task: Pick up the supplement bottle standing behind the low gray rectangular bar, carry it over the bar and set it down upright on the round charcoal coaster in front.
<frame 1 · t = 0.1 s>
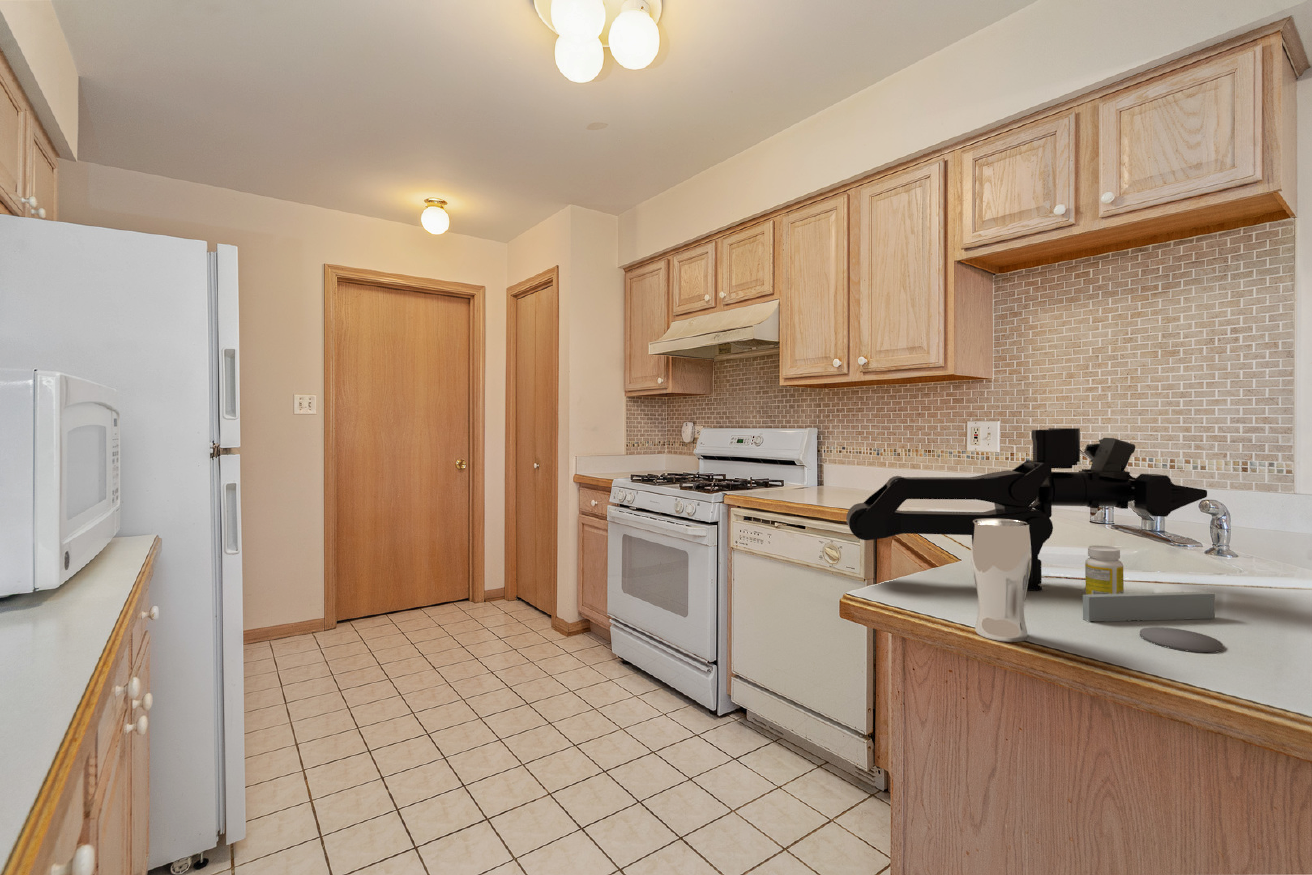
hand: (1187, 490, 98), 17 cm above the counter, tool horizontal, fingers open, 9 cm apart
gray rectangular bar: (1148, 618, 86), on the counter
supplement bottle: (1104, 603, 94), on the counter
coaster: (1179, 640, 78), on the counter
beer glass: (1001, 635, 81), on the counter
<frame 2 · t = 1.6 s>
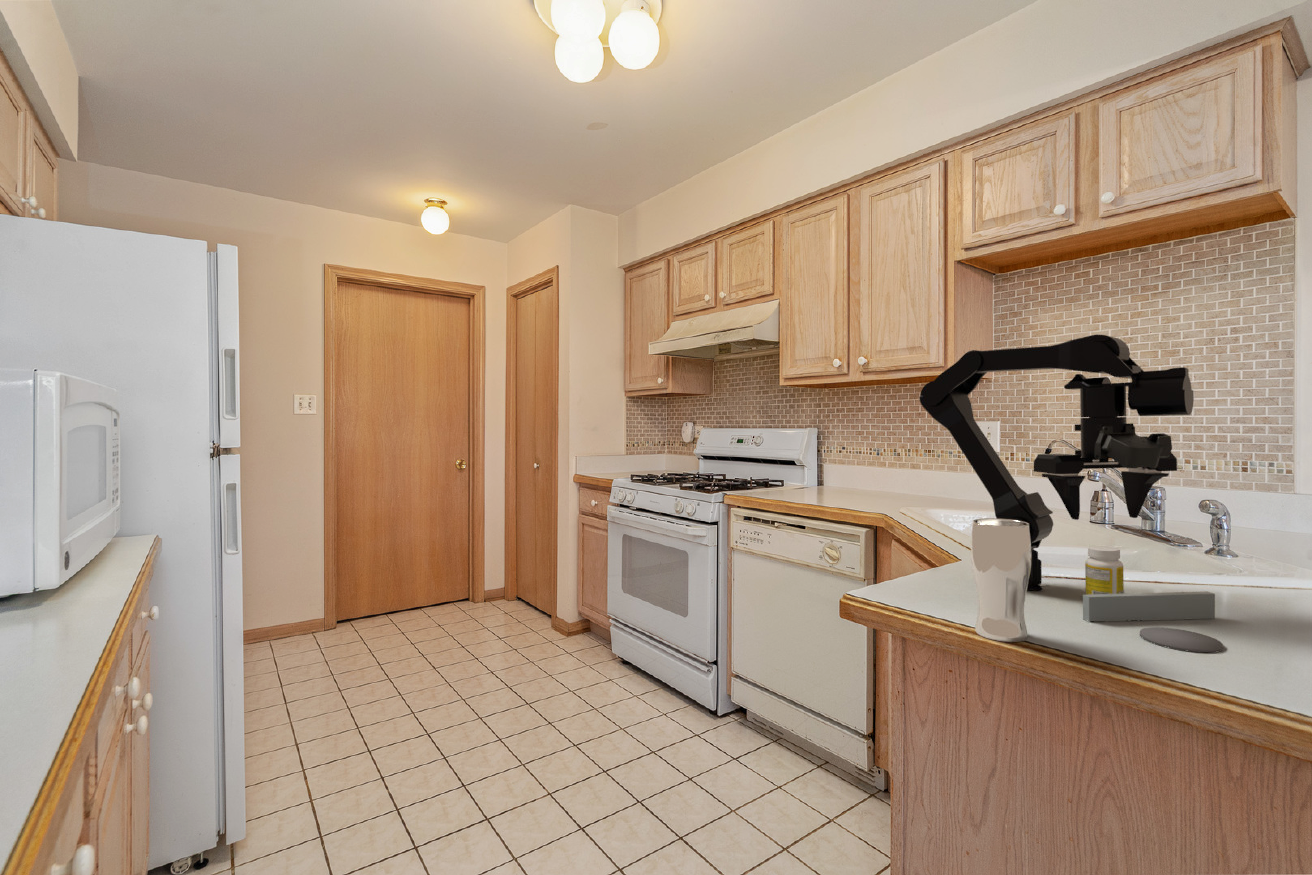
hand: (1104, 518, 94), 13 cm above the counter, tool pointing down, fingers open, 9 cm apart
nothing on the counter moved.
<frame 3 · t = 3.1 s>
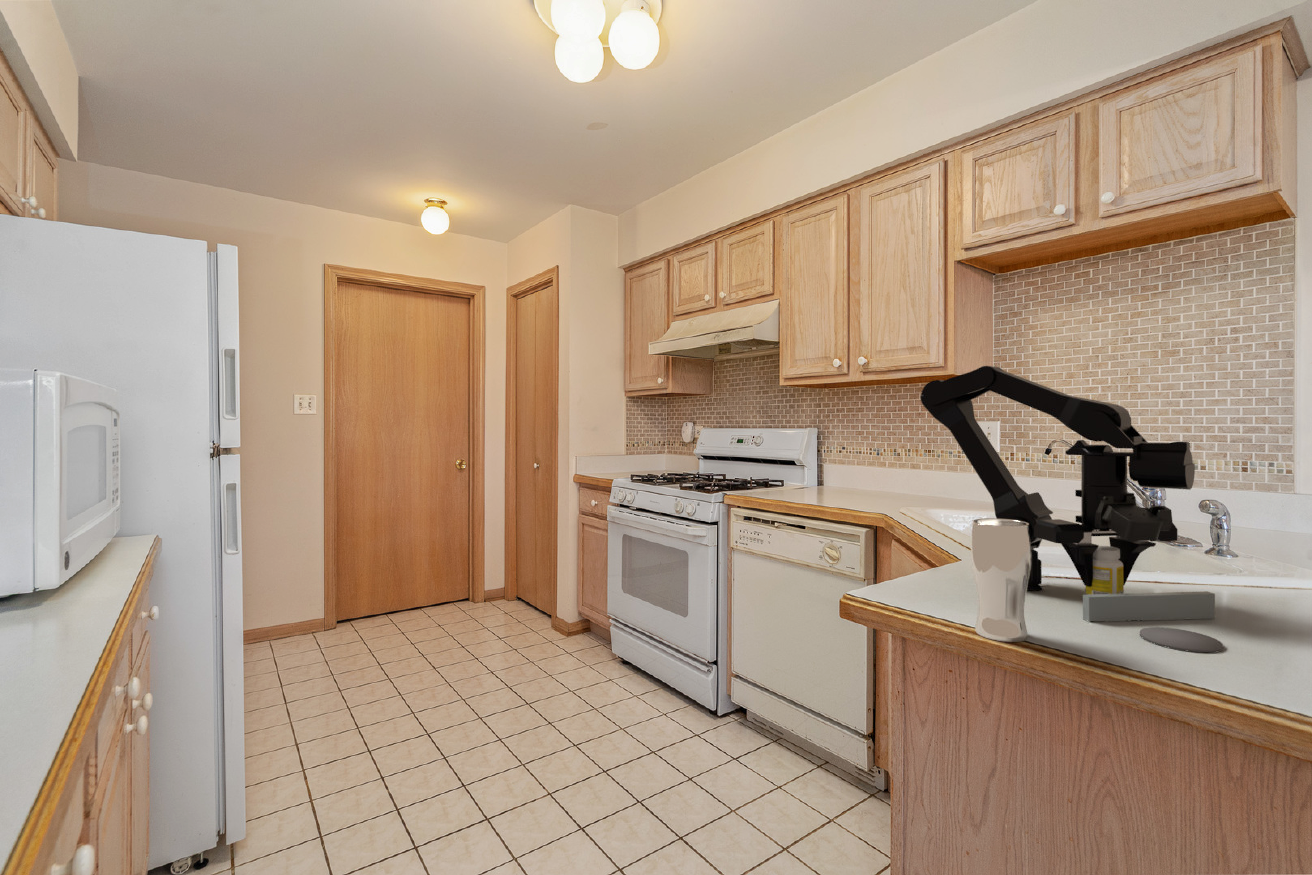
hand: (1104, 585, 94), 3 cm above the counter, tool pointing down, fingers closed on supplement bottle, 5 cm apart
supplement bottle: (1104, 603, 94), on the counter, touching gripper
everything else where it was.
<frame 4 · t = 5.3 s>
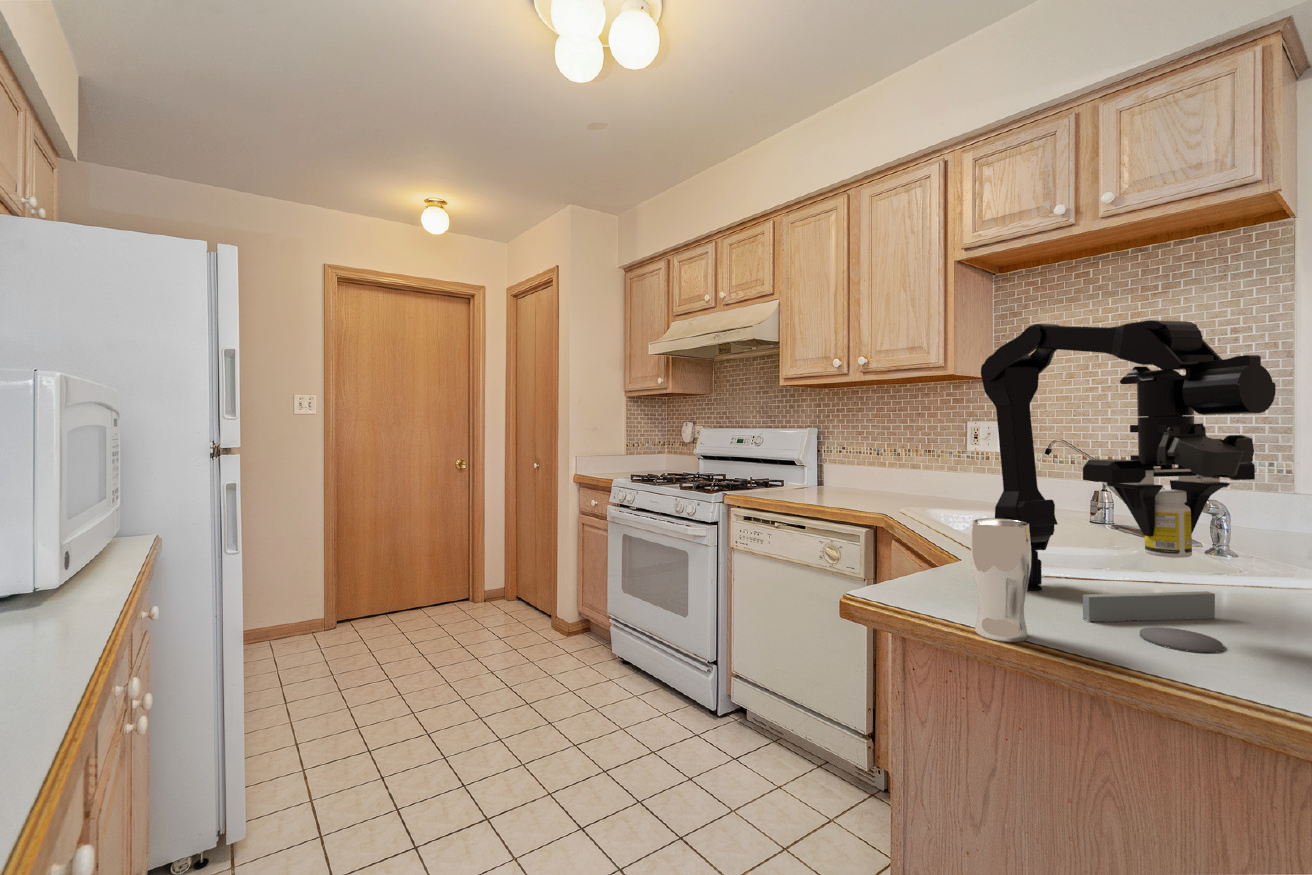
hand: (1167, 535, 80), 13 cm above the counter, tool pointing down, fingers closed on supplement bottle, 5 cm apart
supplement bottle: (1167, 556, 80), point 10 cm above the counter, touching gripper
everything else where it was.
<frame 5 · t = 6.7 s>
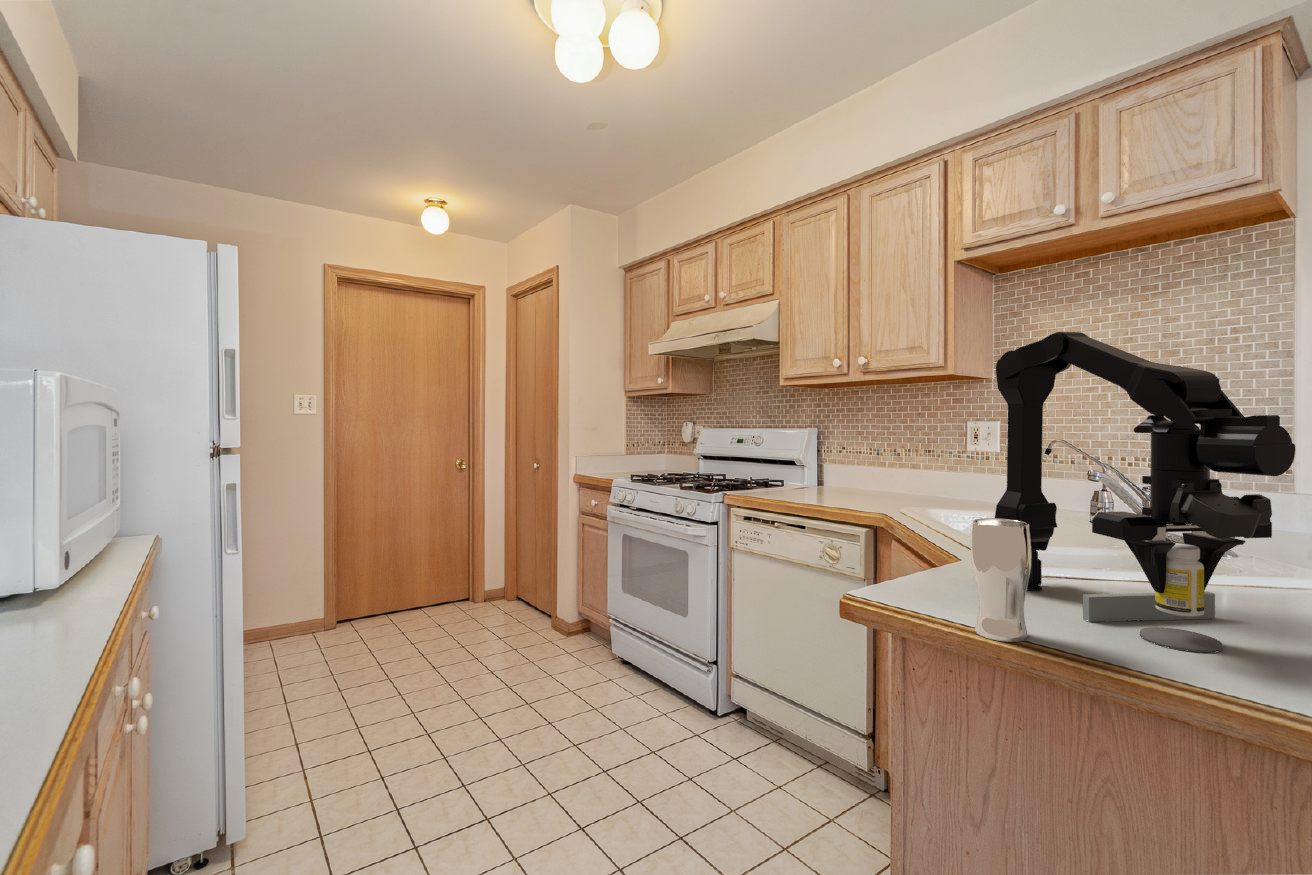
hand: (1178, 591, 78), 6 cm above the counter, tool pointing down, fingers closed on supplement bottle, 5 cm apart
supplement bottle: (1178, 613, 78), point 4 cm above the counter, touching gripper
everything else where it was.
when the fingers open (4 cm above the counter, at t = 7.5 s): supplement bottle stays where it is, resting on coaster.
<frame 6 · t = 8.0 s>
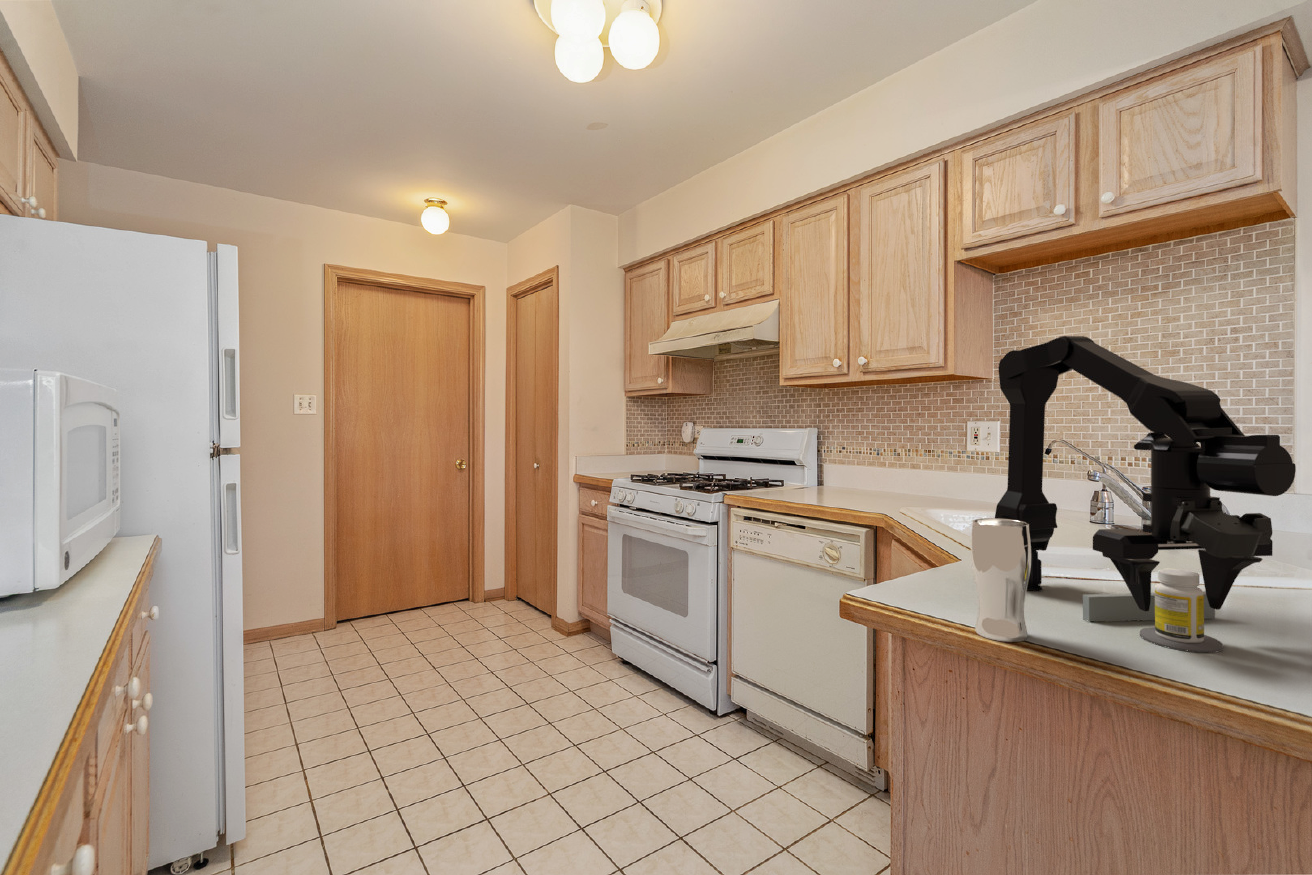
hand: (1179, 609, 77), 4 cm above the counter, tool pointing down, fingers open, 9 cm apart
supplement bottle: (1178, 638, 78), resting on coaster
everything else where it was.
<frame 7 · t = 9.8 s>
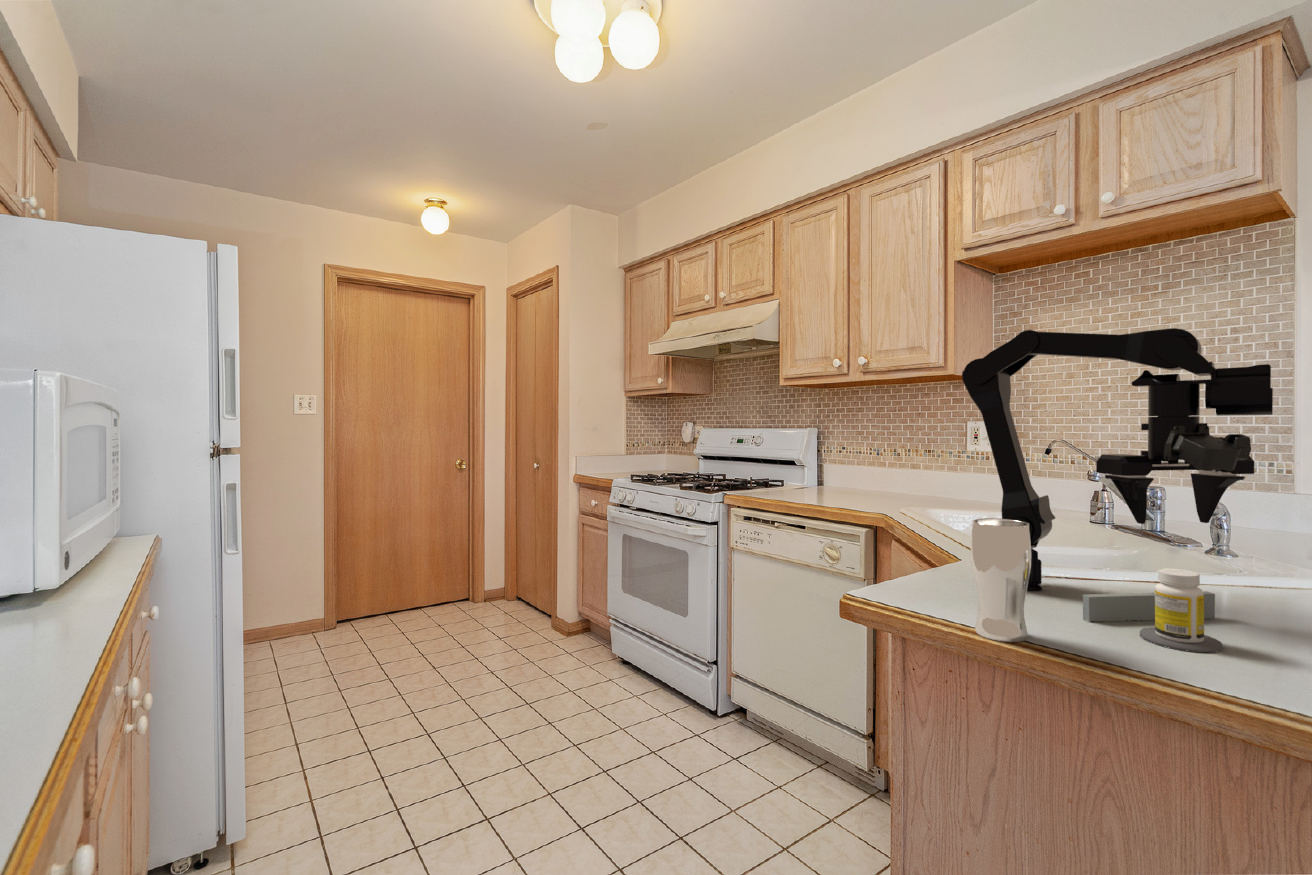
hand: (1172, 523, 89), 13 cm above the counter, tool pointing down, fingers open, 9 cm apart
nothing on the counter moved.
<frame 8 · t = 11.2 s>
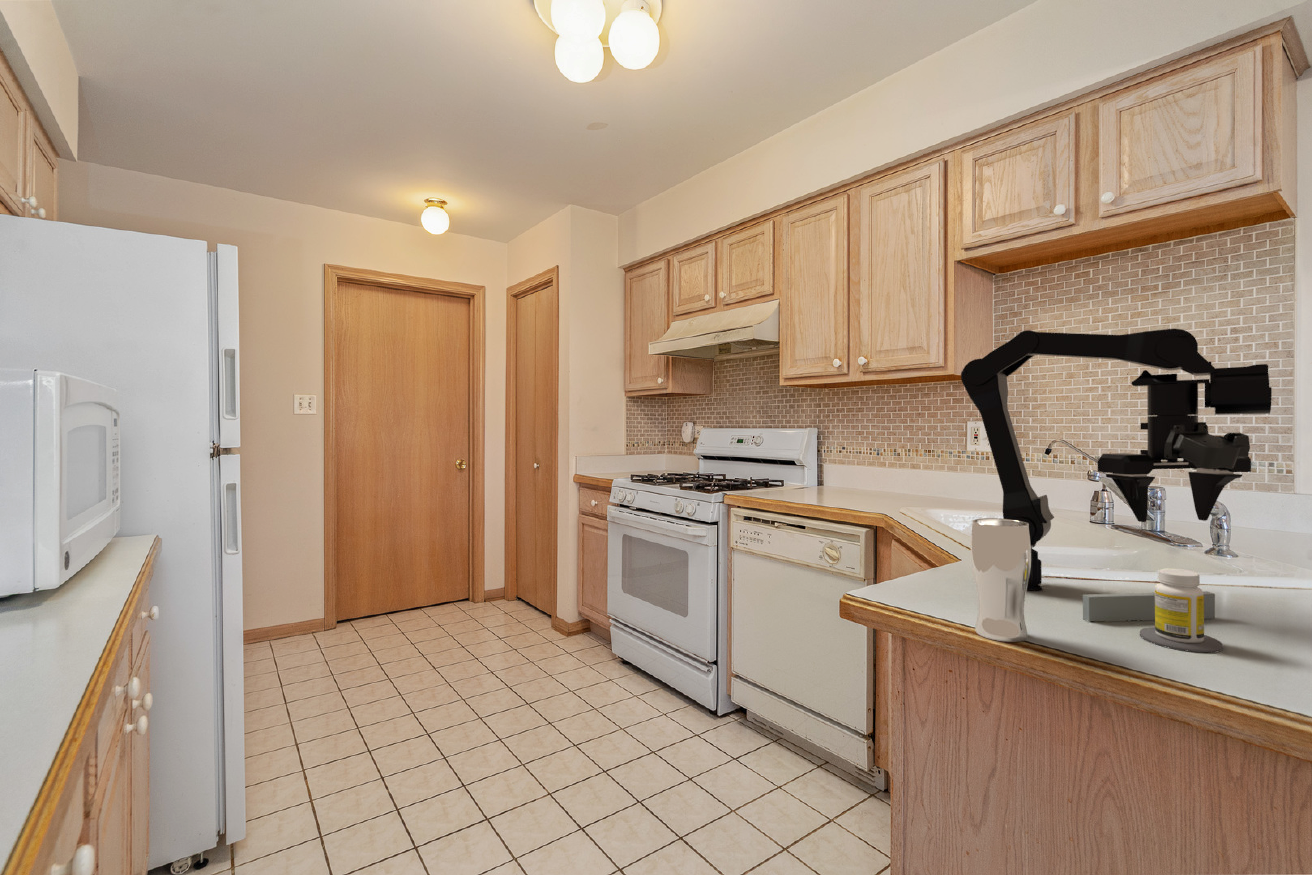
hand: (1172, 521, 90), 13 cm above the counter, tool pointing down, fingers open, 9 cm apart
nothing on the counter moved.
at the end: supplement bottle 0.1 cm from the coaster (horizontally); supplement bottle tilted 0°; the gripper is holding nothing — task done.
